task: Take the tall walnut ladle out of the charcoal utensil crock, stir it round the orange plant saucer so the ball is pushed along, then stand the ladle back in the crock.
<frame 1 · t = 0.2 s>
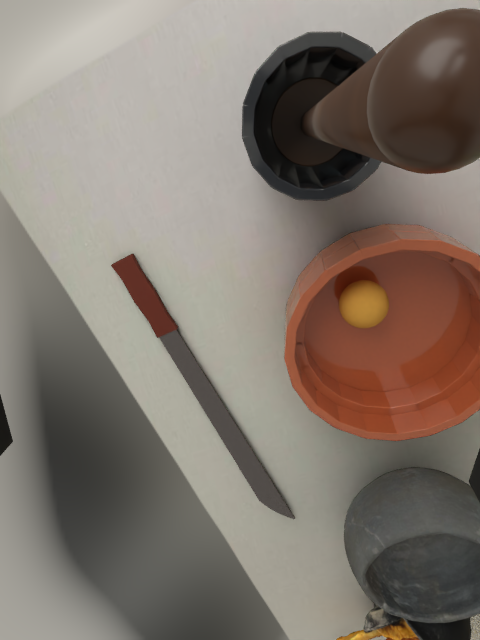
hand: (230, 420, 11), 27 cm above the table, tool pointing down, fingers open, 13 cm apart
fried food: (389, 596, 54), on the table
crock: (309, 124, 32), on the table
ball: (363, 304, 35), point 3 cm above the table, touching orange plant saucer
bowl: (407, 493, 47), on the table
knife: (214, 403, 44), on the table
ladle: (309, 124, 31), point 1 cm above the table, touching crock
orange plant saucer: (382, 319, 38), on the table
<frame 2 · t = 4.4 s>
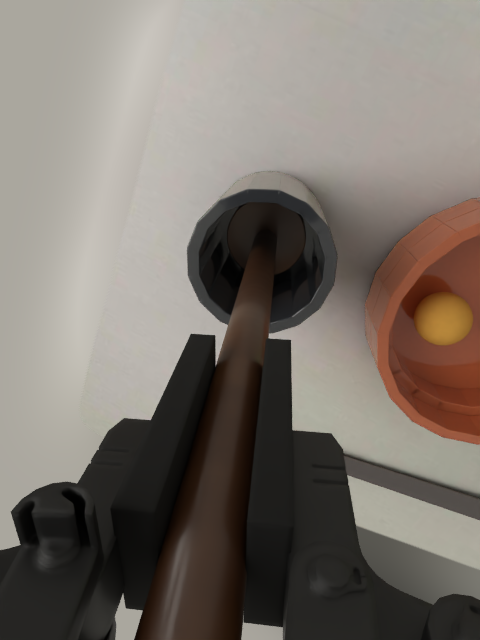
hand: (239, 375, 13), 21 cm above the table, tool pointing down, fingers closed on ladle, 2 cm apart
crock: (267, 227, 33), on the table
ball: (442, 318, 31), point 3 cm above the table, touching orange plant saucer
knife: (393, 476, 42), on the table
ladle: (267, 230, 32), point 1 cm above the table, touching crock, gripper
orange plant saucer: (476, 306, 34), on the table
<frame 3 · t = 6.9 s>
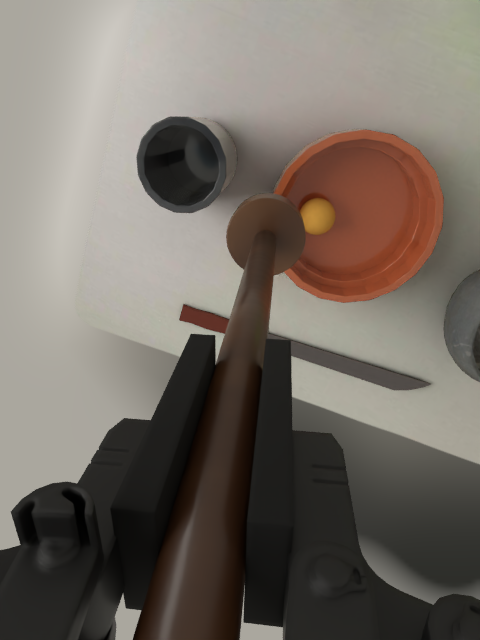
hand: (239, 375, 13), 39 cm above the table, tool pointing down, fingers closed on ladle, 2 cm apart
crock: (200, 158, 48), on the table
ball: (317, 216, 47), point 3 cm above the table, touching orange plant saucer
knife: (305, 350, 57), on the table
ladle: (267, 231, 32), point 19 cm above the table, touching gripper
orange plant saucer: (346, 212, 49), on the table
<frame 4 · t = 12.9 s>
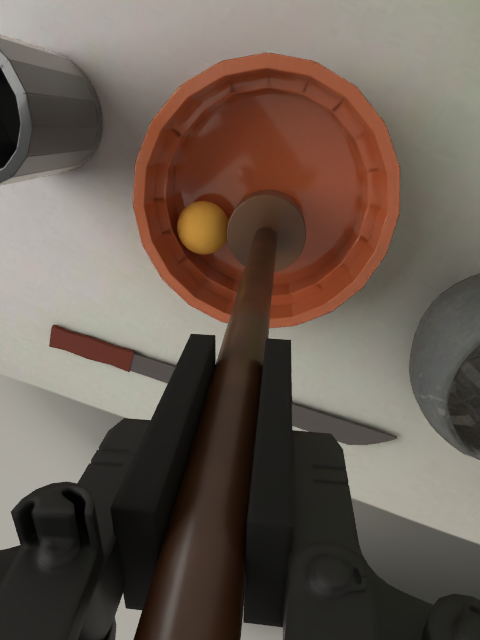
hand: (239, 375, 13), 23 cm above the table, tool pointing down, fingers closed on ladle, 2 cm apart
crock: (49, 114, 32), on the table
ball: (203, 228, 32), point 3 cm above the table, tilted 52°, touching orange plant saucer
knife: (224, 388, 41), on the table
ladle: (267, 227, 32), point 3 cm above the table, touching gripper
orange plant saucer: (266, 195, 33), on the table
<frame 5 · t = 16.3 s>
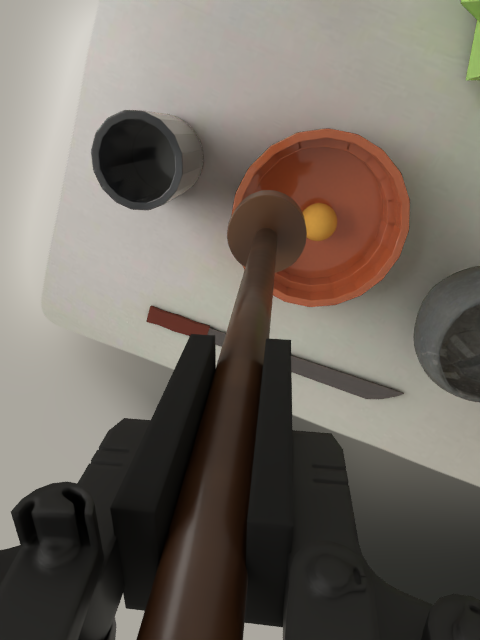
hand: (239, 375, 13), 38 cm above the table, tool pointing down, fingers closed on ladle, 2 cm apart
crock: (166, 156, 47), on the table
ball: (318, 222, 45), point 3 cm above the table, tilted 108°, touching orange plant saucer
bowl: (466, 311, 50), on the table
knife: (275, 355, 56), on the table
ladle: (267, 228, 32), point 17 cm above the table, touching gripper
orange plant saucer: (314, 214, 48), on the table
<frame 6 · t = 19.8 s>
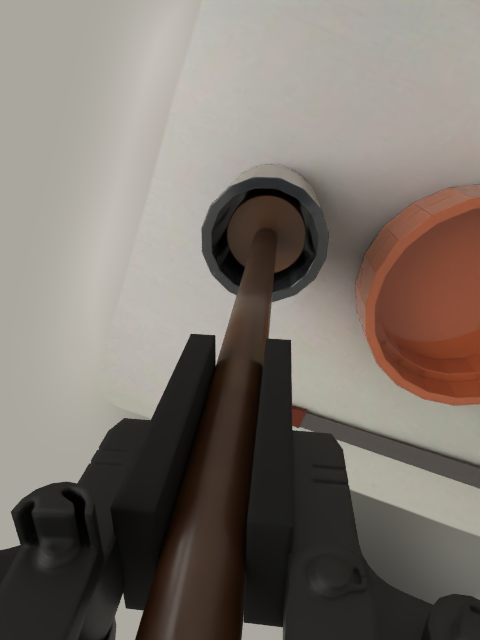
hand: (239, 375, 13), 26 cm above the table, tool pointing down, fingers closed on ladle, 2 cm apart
crock: (269, 214, 37), on the table
knife: (382, 442, 46), on the table
ladle: (267, 228, 32), point 6 cm above the table, touching gripper
orange plant saucer: (454, 285, 38), on the table
when the fingers open (21 cm above the table, at t = 21.0 s): ladle stays where it is, resting on crock.
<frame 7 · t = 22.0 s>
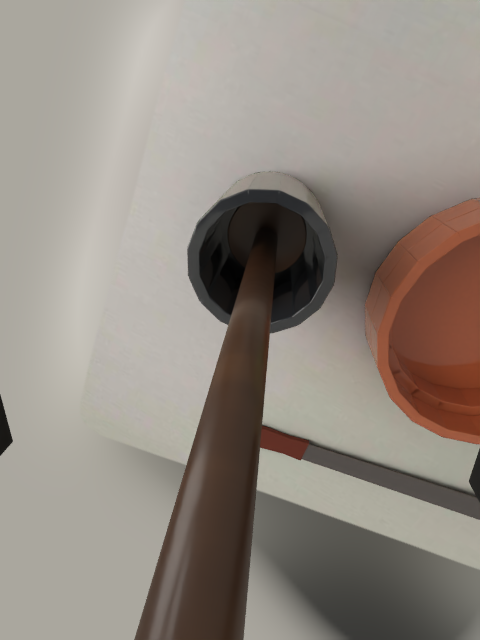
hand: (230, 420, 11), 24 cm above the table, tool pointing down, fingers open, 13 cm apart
crock: (268, 228, 33), on the table
knife: (393, 476, 42), on the table
ladle: (268, 229, 32), point 1 cm above the table, touching crock
orange plant saucer: (476, 306, 34), on the table
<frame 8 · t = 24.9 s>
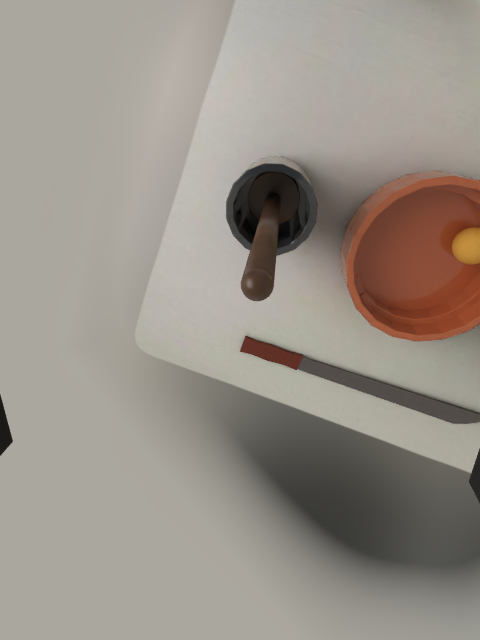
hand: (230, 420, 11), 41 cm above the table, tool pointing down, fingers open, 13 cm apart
crock: (274, 195, 48), on the table
ball: (472, 245, 45), point 3 cm above the table, tilted 102°, touching orange plant saucer
knife: (364, 382, 57), on the table
ladle: (274, 195, 47), point 1 cm above the table, touching crock
orange plant saucer: (417, 250, 49), on the table
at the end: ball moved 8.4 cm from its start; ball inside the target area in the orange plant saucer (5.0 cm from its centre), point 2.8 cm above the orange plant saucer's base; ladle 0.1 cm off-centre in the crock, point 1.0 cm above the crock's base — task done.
